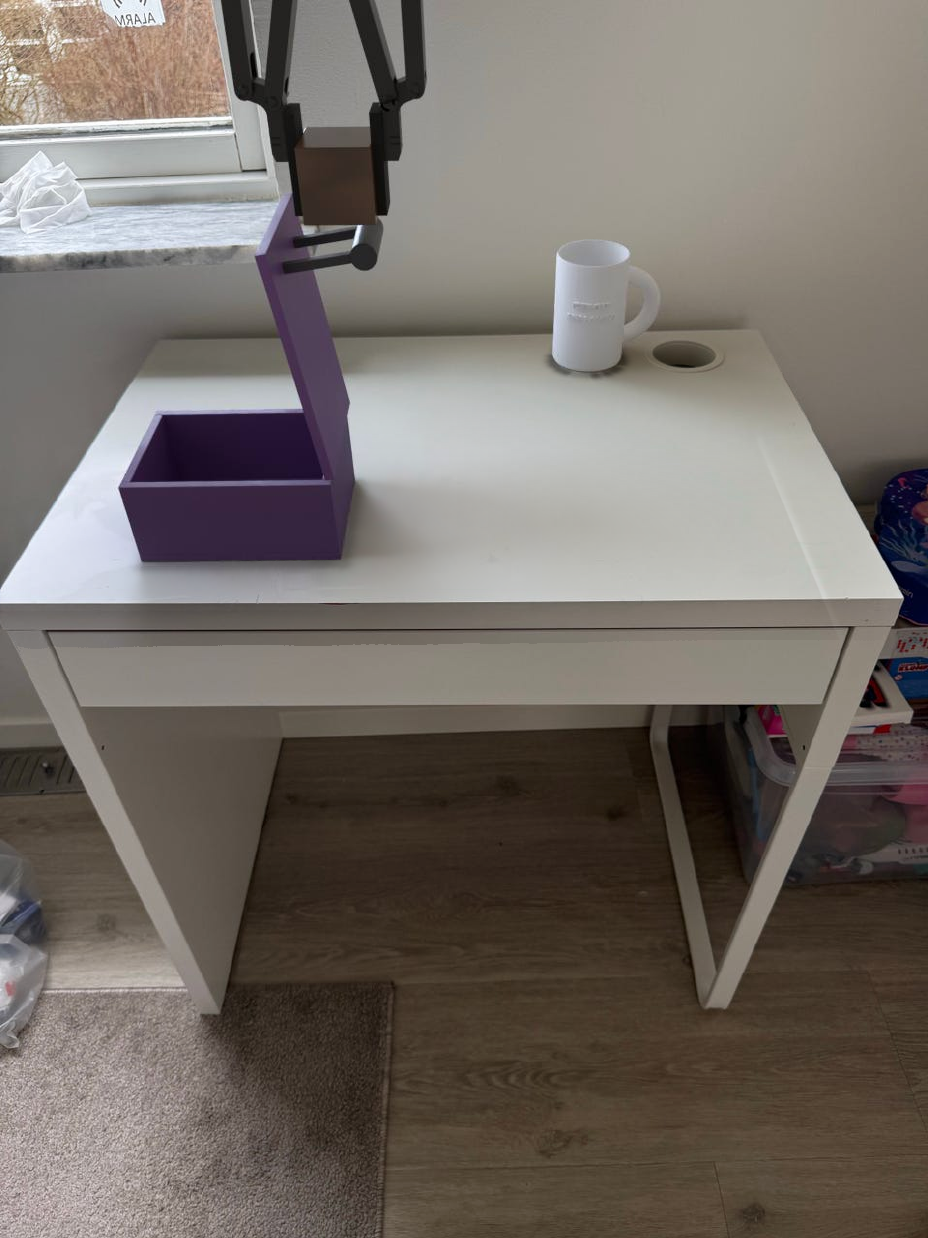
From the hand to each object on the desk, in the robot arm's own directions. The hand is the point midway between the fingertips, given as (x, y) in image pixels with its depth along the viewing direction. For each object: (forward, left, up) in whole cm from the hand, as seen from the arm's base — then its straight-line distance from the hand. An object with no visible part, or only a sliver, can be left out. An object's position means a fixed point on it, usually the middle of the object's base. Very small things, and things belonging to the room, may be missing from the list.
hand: (343, 208), depth 67 cm
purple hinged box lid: (-5, 0, -11) cm, 12 cm away
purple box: (-11, -3, -28) cm, 31 cm away
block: (0, 0, 0) cm, 0 cm away
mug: (+7, +41, -28) cm, 50 cm away
